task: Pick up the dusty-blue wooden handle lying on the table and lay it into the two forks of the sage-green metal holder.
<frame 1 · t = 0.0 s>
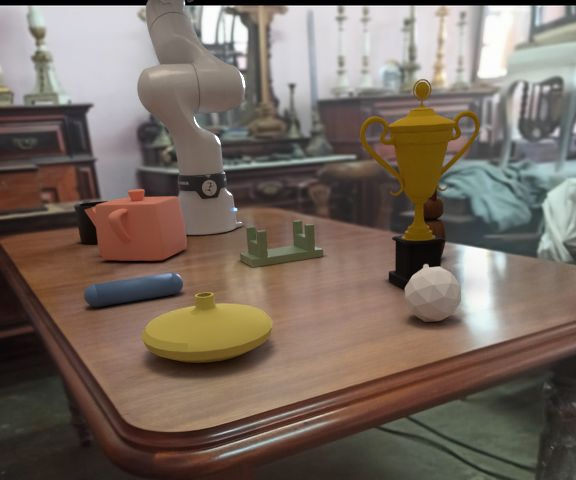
holder: (281, 258, 117), on the table
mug: (106, 240, 147), on the table
trophy: (417, 284, 95), on the table
handle: (136, 300, 94), on the table
wooden figurine: (428, 260, 109), on the table
ornament: (431, 320, 78), on the table
teapot: (135, 257, 127), on the table
vase: (210, 351, 72), on the table
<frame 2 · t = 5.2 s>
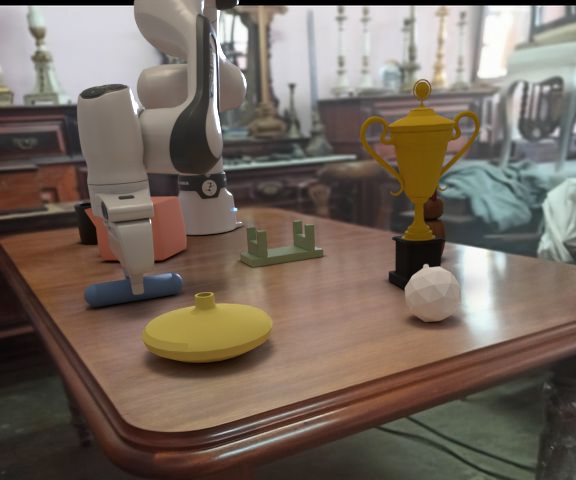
hand: (135, 289, 94), 2 cm above the table, tool pointing down, fingers closed on handle, 3 cm apart
handle: (136, 300, 94), on the table, touching gripper
everything else where it was.
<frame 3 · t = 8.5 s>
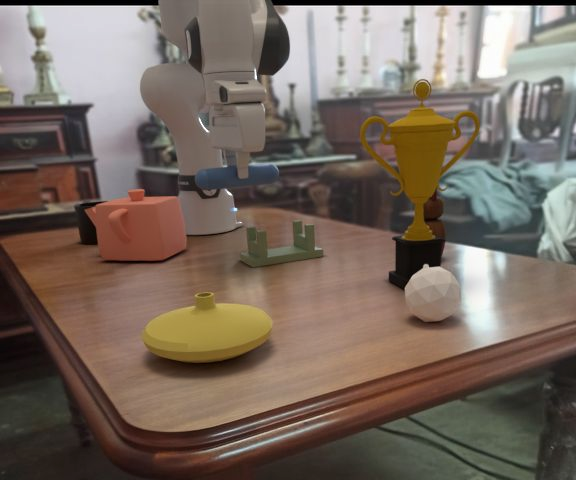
hand: (238, 177, 105), 17 cm above the table, tool pointing down, fingers closed on handle, 3 cm apart
handle: (238, 187, 105), point 15 cm above the table, touching gripper
everything else where it was.
when the fingers open (6 cm above the table, at t = 11.8 s): handle stays where it is, resting on holder.
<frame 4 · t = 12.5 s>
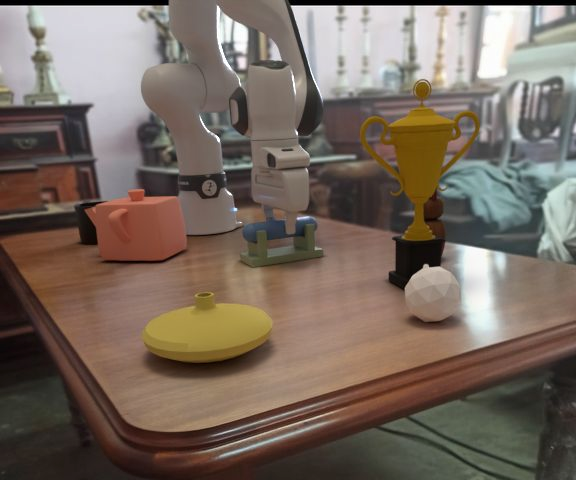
hand: (280, 230, 115), 6 cm above the table, tool pointing down, fingers open, 8 cm apart
handle: (281, 238, 115), point 4 cm above the table, touching holder
everything else where it was.
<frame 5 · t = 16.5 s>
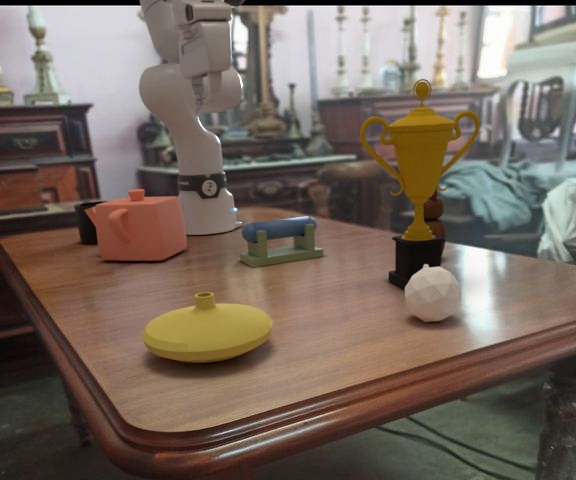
hand: (207, 103, 105), 29 cm above the table, tool pointing down, fingers open, 8 cm apart
handle: (281, 238, 115), point 4 cm above the table, tilted 12°, touching holder
everything else where it was.
at the end: handle 0.1 cm off-centre on the holder, point 4.0 cm above the holder's base; handle tilted 12°; the gripper is holding nothing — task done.
